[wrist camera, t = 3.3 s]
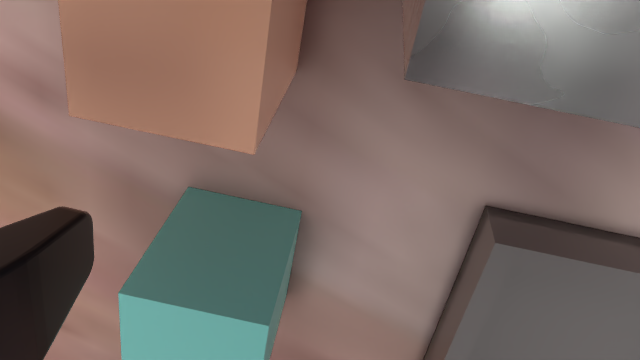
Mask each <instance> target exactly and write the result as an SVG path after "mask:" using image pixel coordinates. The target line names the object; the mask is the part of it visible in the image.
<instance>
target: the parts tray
mask: <svg viewBox="0 0 640 360" xmlns="http://www.w3.org/2000/svg"><path fill="white" fill-rule="evenodd" d="M424 360H640V238H635V237H630V236H626V235H621V234H616V233H611V232H607V231H602V230H597V229H593V228H588V227H583V226H578V225H574V224H569V223H564V222H559V221H555V220H550V219H545V218H540V217H536V216H531V215H526V214H521V213H517V212H512V211H507V210H502V209H498V208H493V207H488V206H486V207H485V209H484V212H483V214H482V217H481V219H480V222H479V224H478V227H477V229H476V232H475V234H474V237H473V239H472V241H471V244H470V246H469V249H468V251H467V254H466V256H465V259H464V261H463V264H462V266H461V269H460V271H459V273H458V276H457V278H456V281H455V283H454V286H453V288H452V291H451V293H450V296H449V298H448V301H447V303H446V306H445V308H444V310H443V313H442V315H441V318H440V320H439V323H438V325H437V328H436V330H435V333H434V335H433V338H432V340H431V342H430V345H429V347H428V350H427V352H426V355H425V357H424Z"/></svg>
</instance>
